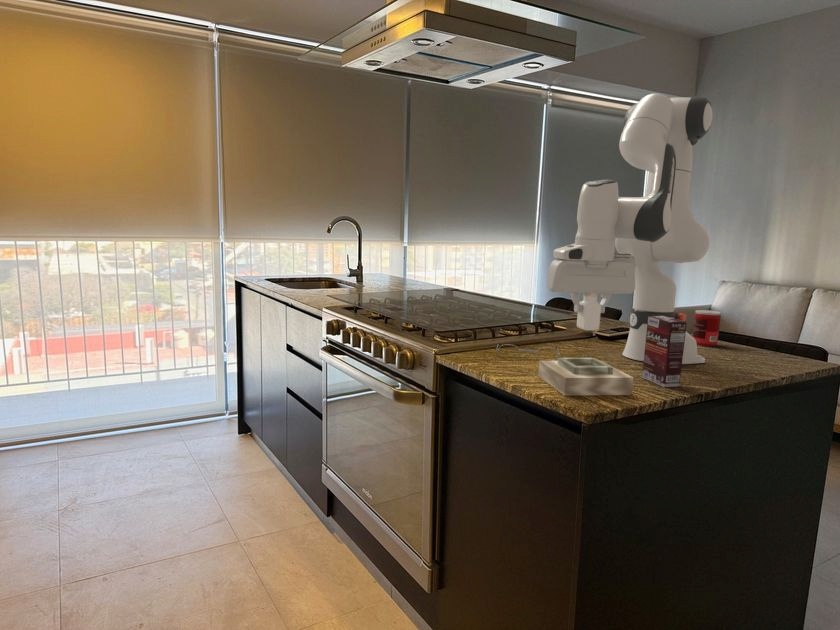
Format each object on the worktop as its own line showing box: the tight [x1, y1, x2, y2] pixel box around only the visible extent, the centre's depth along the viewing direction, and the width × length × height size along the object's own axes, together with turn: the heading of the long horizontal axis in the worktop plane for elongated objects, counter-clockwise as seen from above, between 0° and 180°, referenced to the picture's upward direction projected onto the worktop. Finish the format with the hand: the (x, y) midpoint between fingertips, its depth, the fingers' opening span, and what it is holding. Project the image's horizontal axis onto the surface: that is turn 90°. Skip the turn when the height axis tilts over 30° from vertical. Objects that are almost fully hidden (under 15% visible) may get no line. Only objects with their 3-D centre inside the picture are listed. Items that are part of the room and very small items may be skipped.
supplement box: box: [641, 316, 687, 388], centre depth 141 cm, size 9×5×16 cm, turn 16°
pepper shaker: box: [576, 293, 602, 331], centre depth 134 cm, size 4×4×10 cm
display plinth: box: [538, 357, 634, 397], centre depth 136 cm, size 16×16×6 cm
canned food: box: [692, 309, 722, 347], centre depth 193 cm, size 8×8×11 cm
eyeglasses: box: [495, 343, 561, 361], centre depth 171 cm, size 18×19×4 cm
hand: (589, 312), depth 134 cm, fingers closed on pepper shaker, 4 cm apart
